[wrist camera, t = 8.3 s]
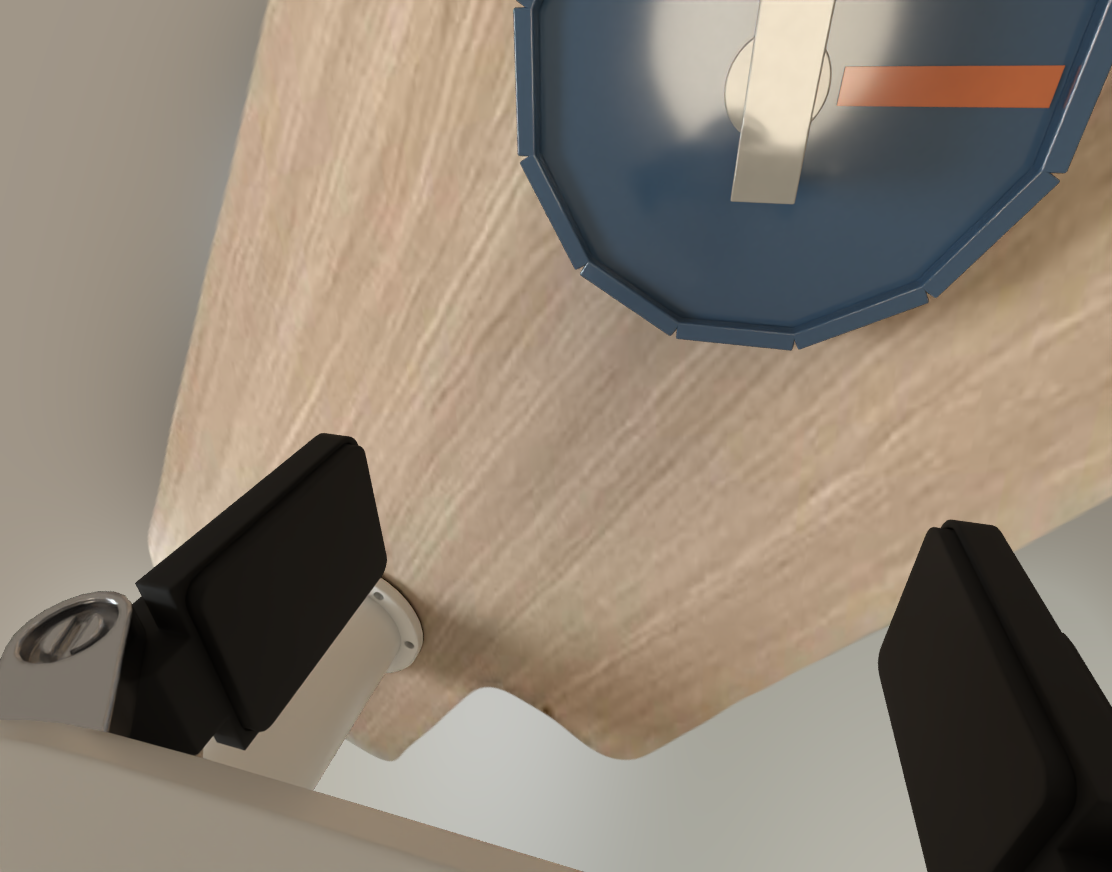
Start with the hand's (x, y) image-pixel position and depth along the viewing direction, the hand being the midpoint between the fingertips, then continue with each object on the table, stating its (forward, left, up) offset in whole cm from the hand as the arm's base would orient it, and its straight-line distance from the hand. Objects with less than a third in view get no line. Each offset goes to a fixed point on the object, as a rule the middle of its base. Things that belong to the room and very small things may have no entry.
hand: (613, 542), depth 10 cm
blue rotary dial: (+6, +2, -19) cm, 21 cm away
